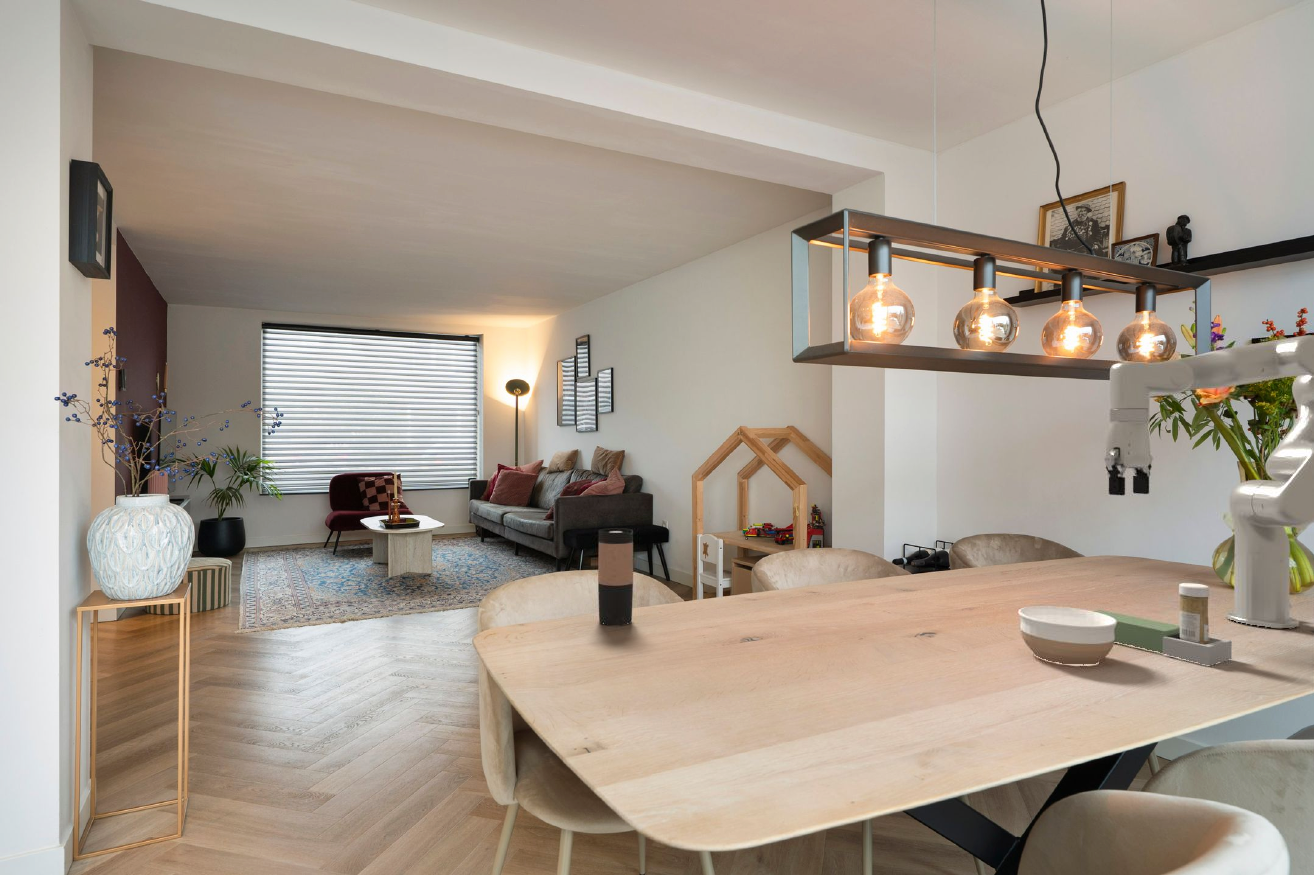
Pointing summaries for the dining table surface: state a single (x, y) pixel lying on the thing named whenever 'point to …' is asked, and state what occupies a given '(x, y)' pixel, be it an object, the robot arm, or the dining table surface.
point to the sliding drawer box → (1167, 640)
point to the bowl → (1067, 634)
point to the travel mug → (615, 576)
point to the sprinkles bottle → (1194, 613)
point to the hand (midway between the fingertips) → (1129, 494)
